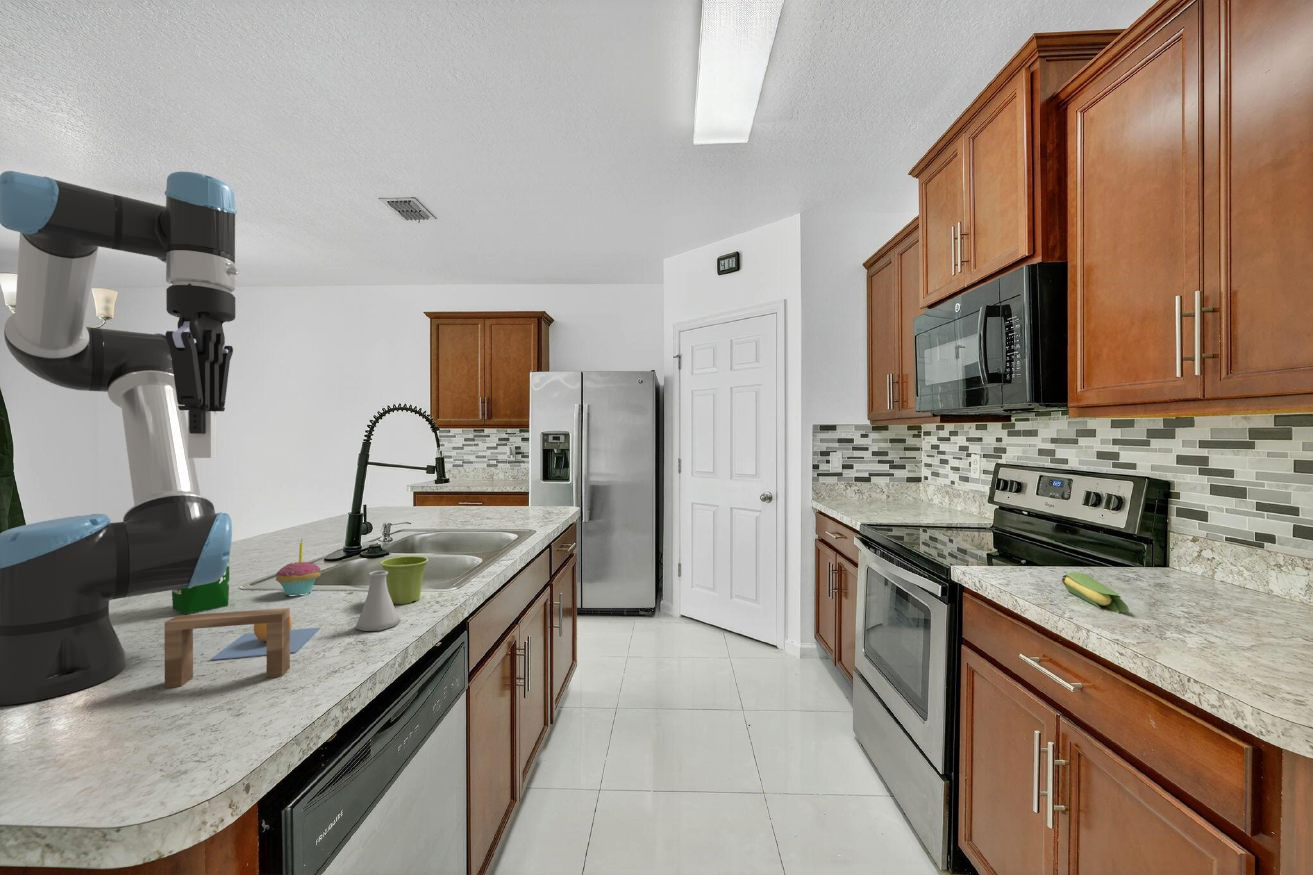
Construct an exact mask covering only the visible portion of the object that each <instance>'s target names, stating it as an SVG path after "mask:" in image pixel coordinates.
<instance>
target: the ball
mask: <svg viewBox="0 0 1313 875" xmlns="http://www.w3.org/2000/svg"><path fill="white" fill-rule="evenodd" d="M292 627H293V619H292V616H291V615H290V630H292ZM253 633H255V635H256V637H257V638H258V639H259V640H261V641H264V642H267V626H266V623H262V624H253Z"/></svg>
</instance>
